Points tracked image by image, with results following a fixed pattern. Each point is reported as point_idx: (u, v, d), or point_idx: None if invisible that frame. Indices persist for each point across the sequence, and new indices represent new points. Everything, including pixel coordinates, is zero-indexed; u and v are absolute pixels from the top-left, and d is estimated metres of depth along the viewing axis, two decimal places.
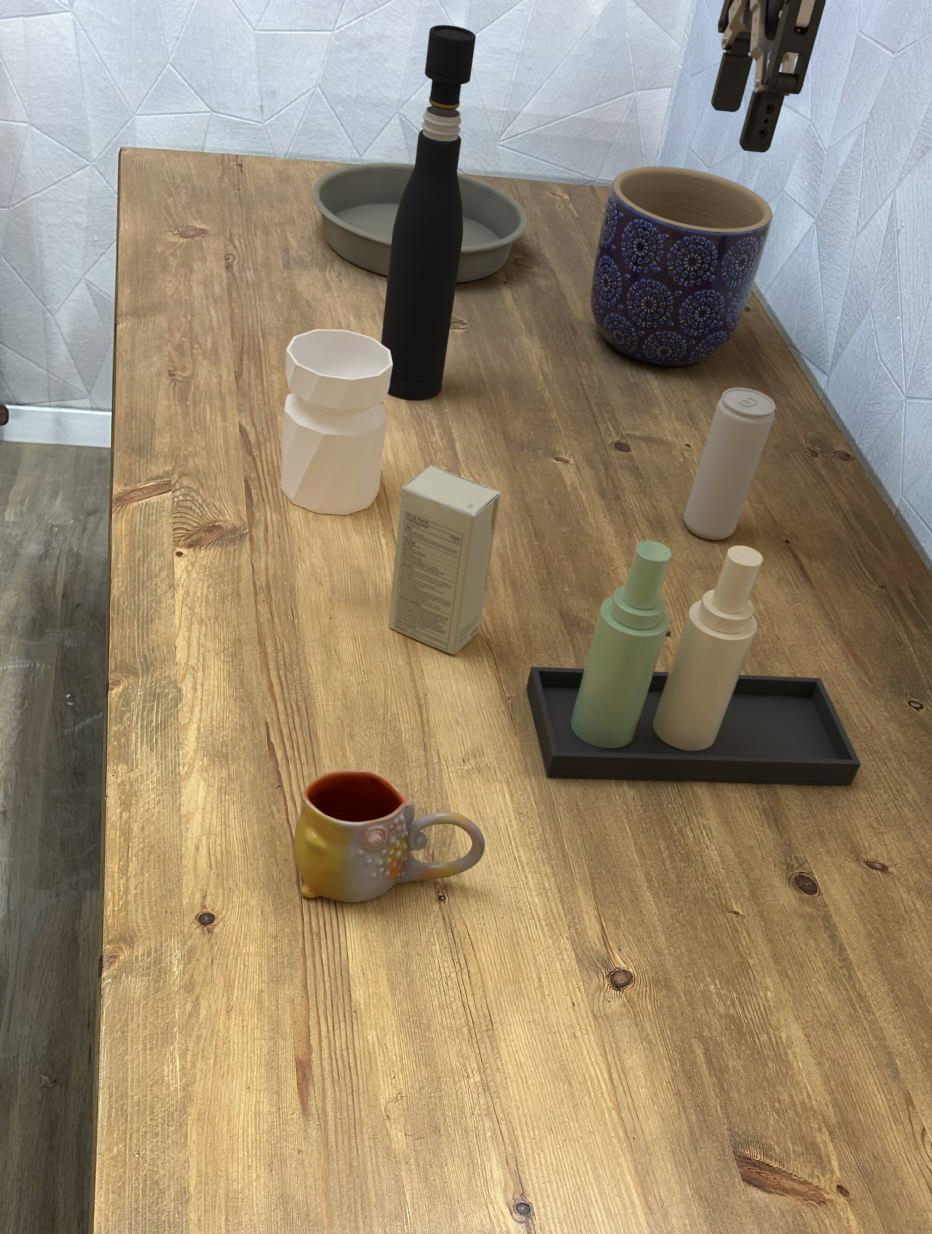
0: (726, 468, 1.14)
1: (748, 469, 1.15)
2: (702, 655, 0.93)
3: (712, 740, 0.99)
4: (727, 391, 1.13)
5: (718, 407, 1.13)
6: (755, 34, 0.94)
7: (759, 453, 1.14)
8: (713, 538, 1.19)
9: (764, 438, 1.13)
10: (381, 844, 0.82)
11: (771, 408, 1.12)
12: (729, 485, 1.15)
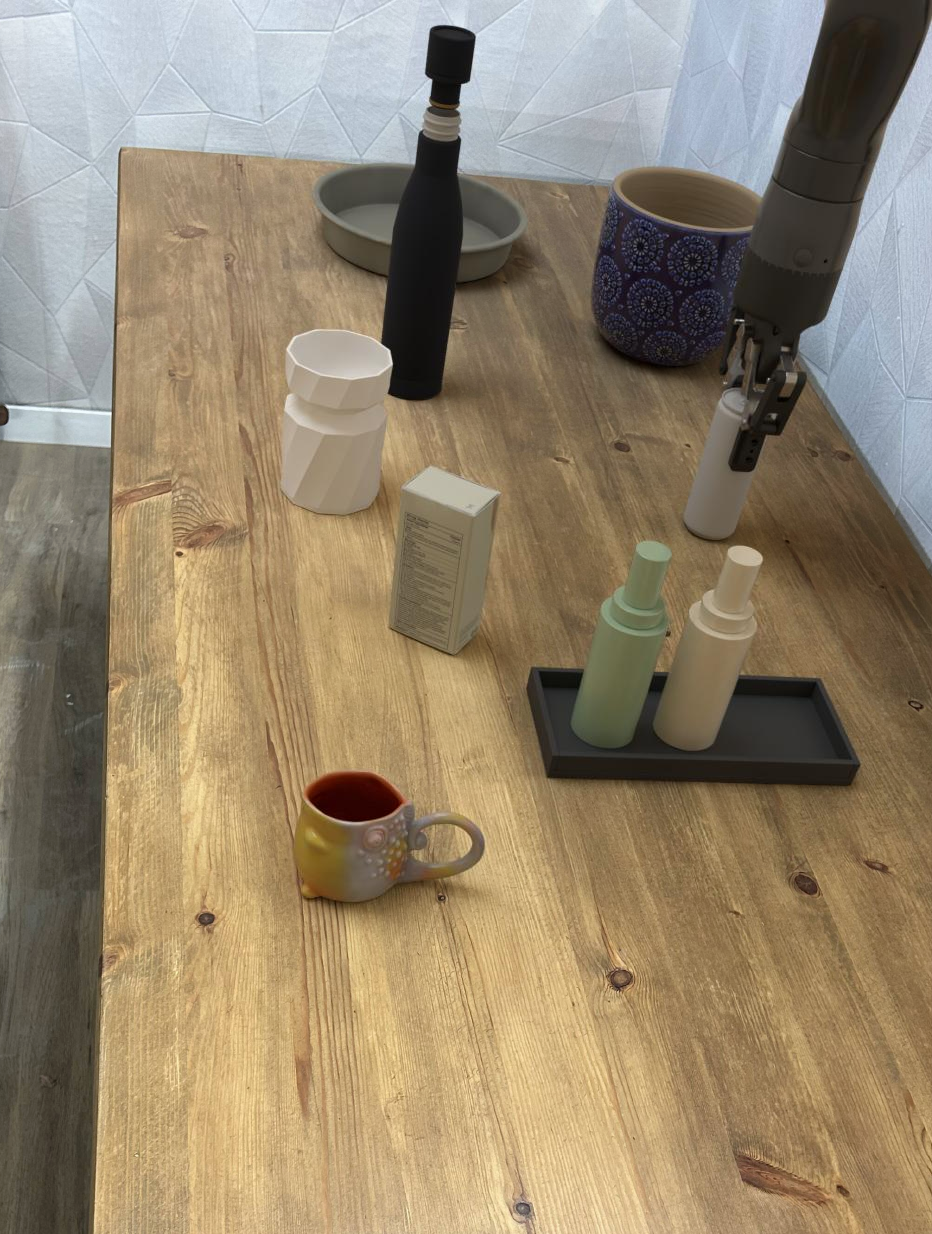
0: (726, 468, 1.14)
1: None
2: (702, 655, 0.93)
3: (712, 740, 0.99)
4: (727, 391, 1.13)
5: (718, 407, 1.13)
6: (746, 383, 1.09)
7: None
8: (713, 538, 1.19)
9: None
10: (381, 844, 0.82)
11: None
12: (729, 485, 1.15)
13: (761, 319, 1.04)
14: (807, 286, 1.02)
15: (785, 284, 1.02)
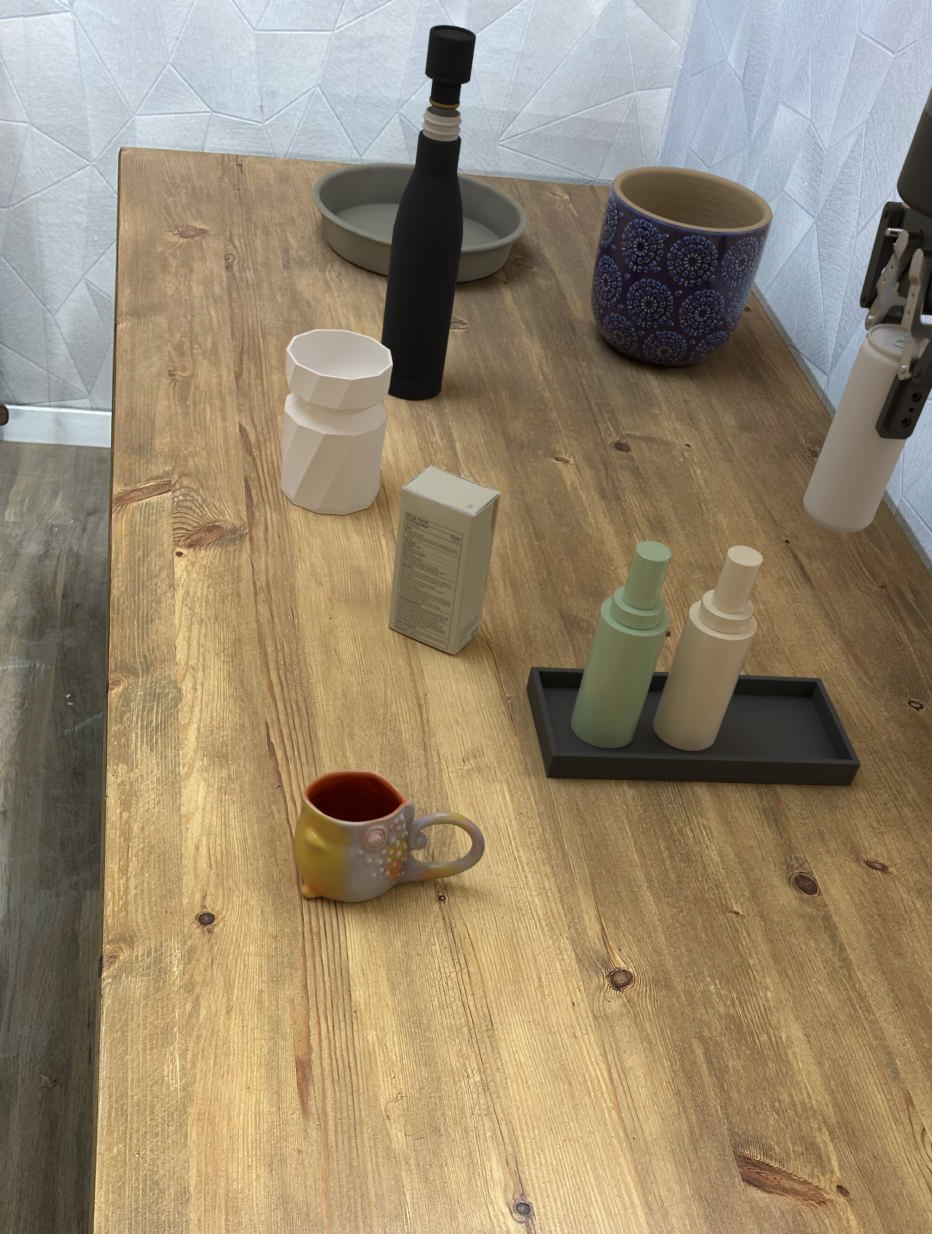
0: (871, 434, 0.84)
1: None
2: (702, 655, 0.93)
3: (712, 740, 0.99)
4: (874, 328, 0.82)
5: (862, 349, 0.82)
6: (909, 314, 0.78)
7: None
8: (845, 530, 0.89)
9: None
10: (381, 844, 0.82)
11: None
12: (872, 457, 0.85)
13: None
14: None
15: None
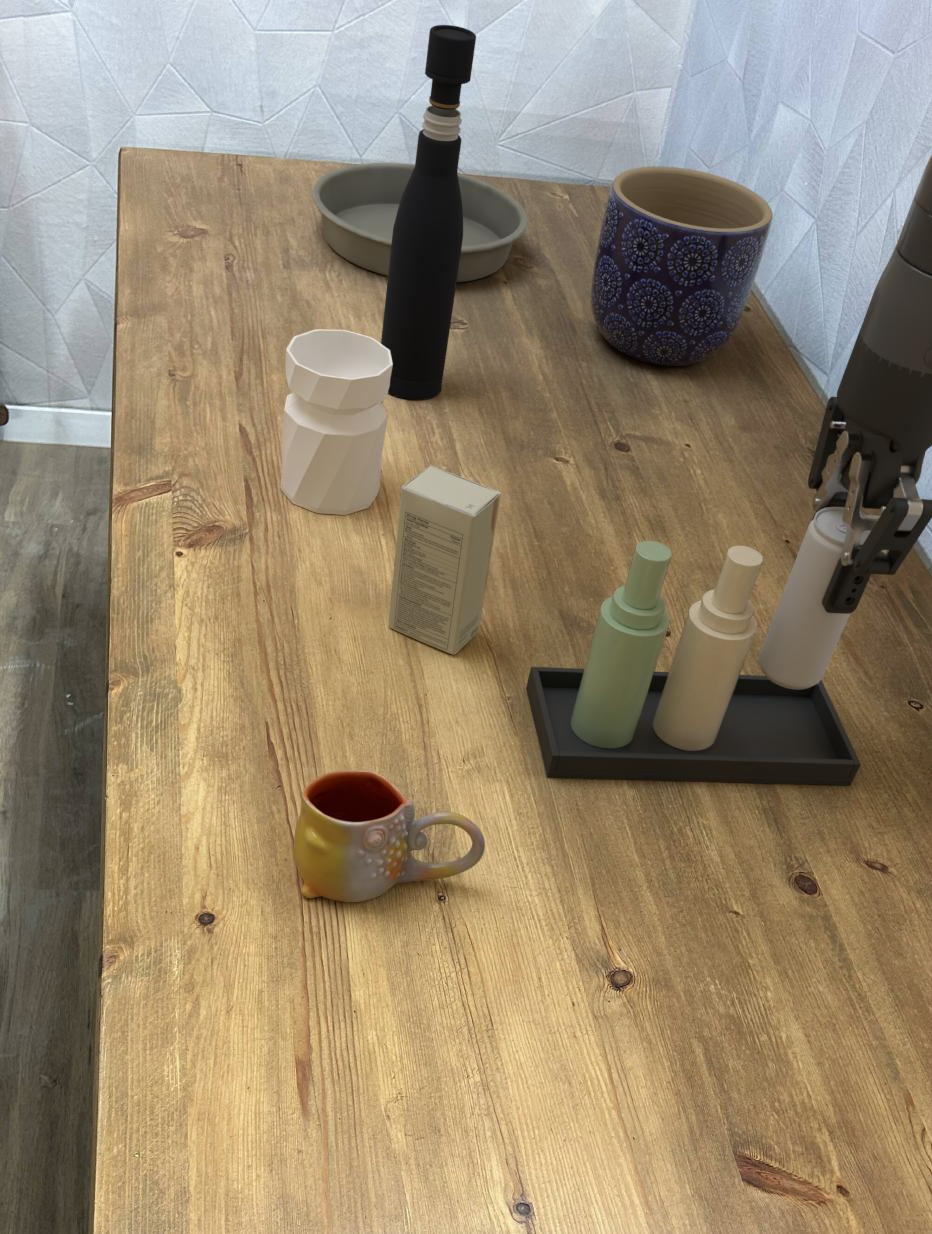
0: (818, 608, 0.90)
1: None
2: (702, 655, 0.93)
3: (712, 740, 0.99)
4: (820, 512, 0.89)
5: (809, 533, 0.89)
6: (850, 509, 0.85)
7: None
8: (796, 688, 0.95)
9: None
10: (381, 844, 0.82)
11: None
12: (820, 627, 0.91)
13: (876, 432, 0.80)
14: None
15: (911, 389, 0.78)
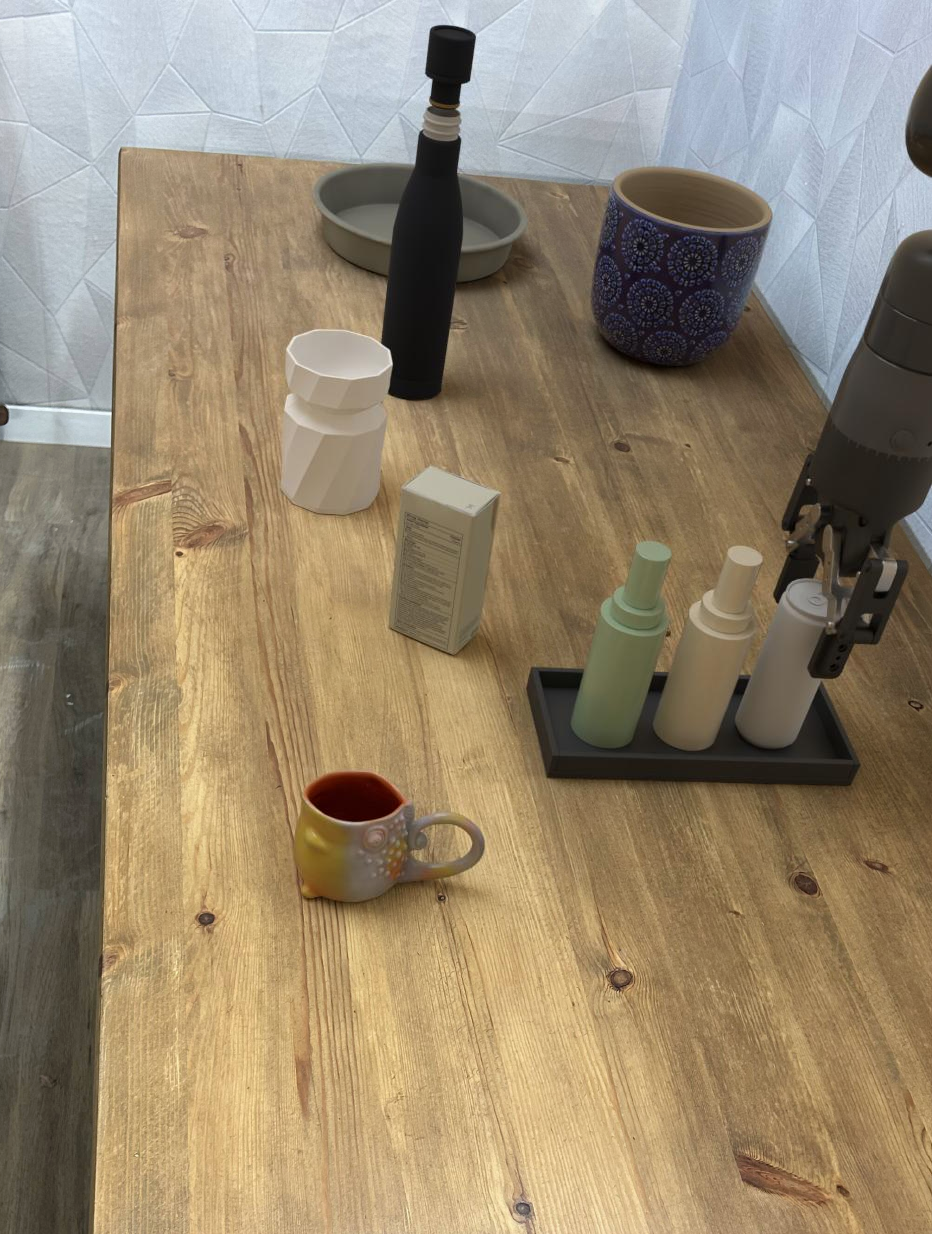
0: (790, 675, 0.94)
1: None
2: (702, 655, 0.93)
3: (712, 740, 0.99)
4: (792, 584, 0.93)
5: (781, 604, 0.93)
6: (828, 578, 0.87)
7: None
8: (771, 748, 1.00)
9: None
10: (381, 844, 0.82)
11: (846, 606, 0.92)
12: (793, 692, 0.95)
13: (845, 508, 0.84)
14: (906, 472, 0.81)
15: (878, 469, 0.81)
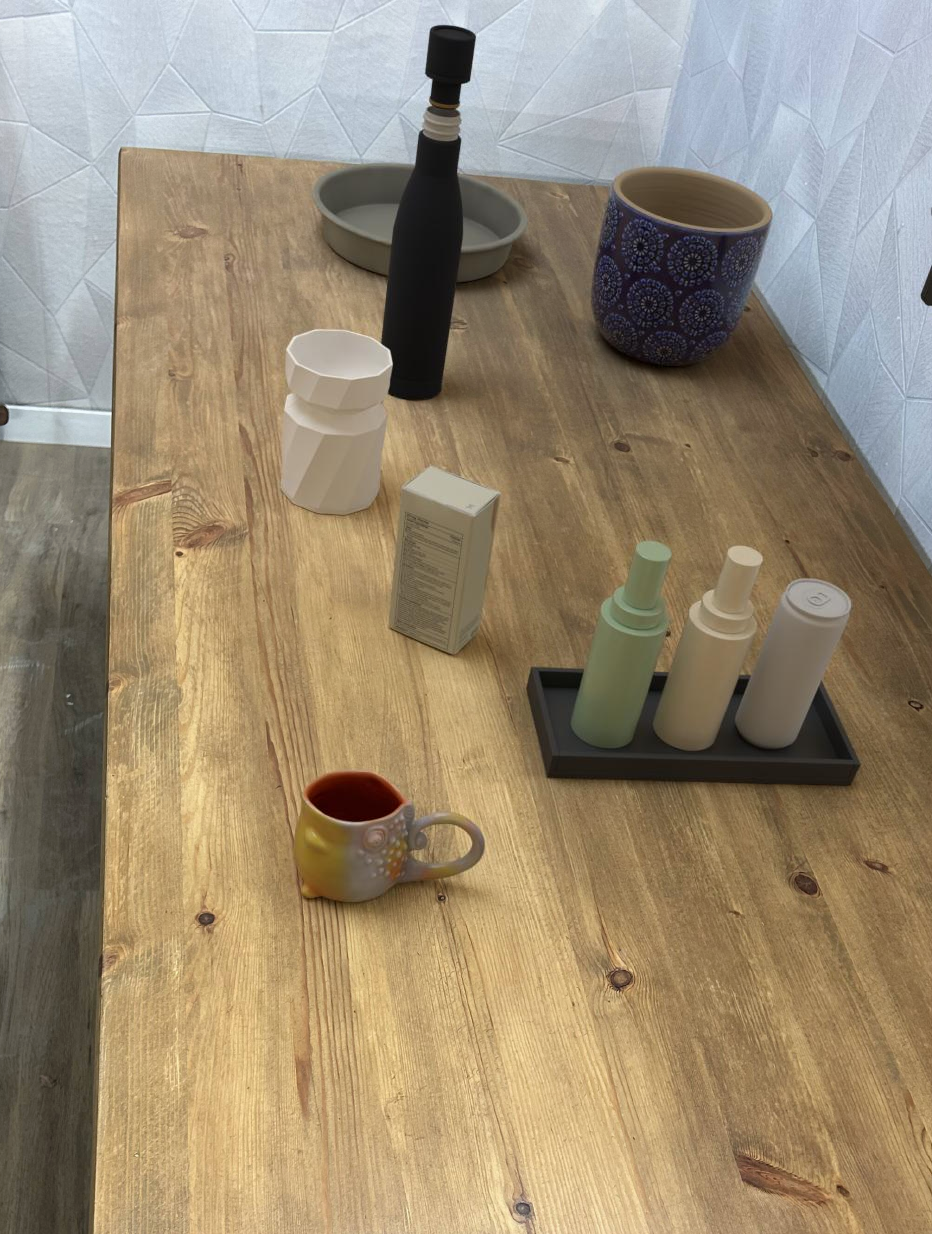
0: (790, 675, 0.94)
1: (817, 674, 0.95)
2: (702, 655, 0.93)
3: (712, 740, 0.99)
4: (792, 584, 0.93)
5: (781, 604, 0.93)
6: None
7: (830, 657, 0.94)
8: (771, 748, 1.00)
9: (837, 641, 0.93)
10: (381, 844, 0.82)
11: (846, 606, 0.92)
12: (793, 692, 0.95)
13: None
14: None
15: None
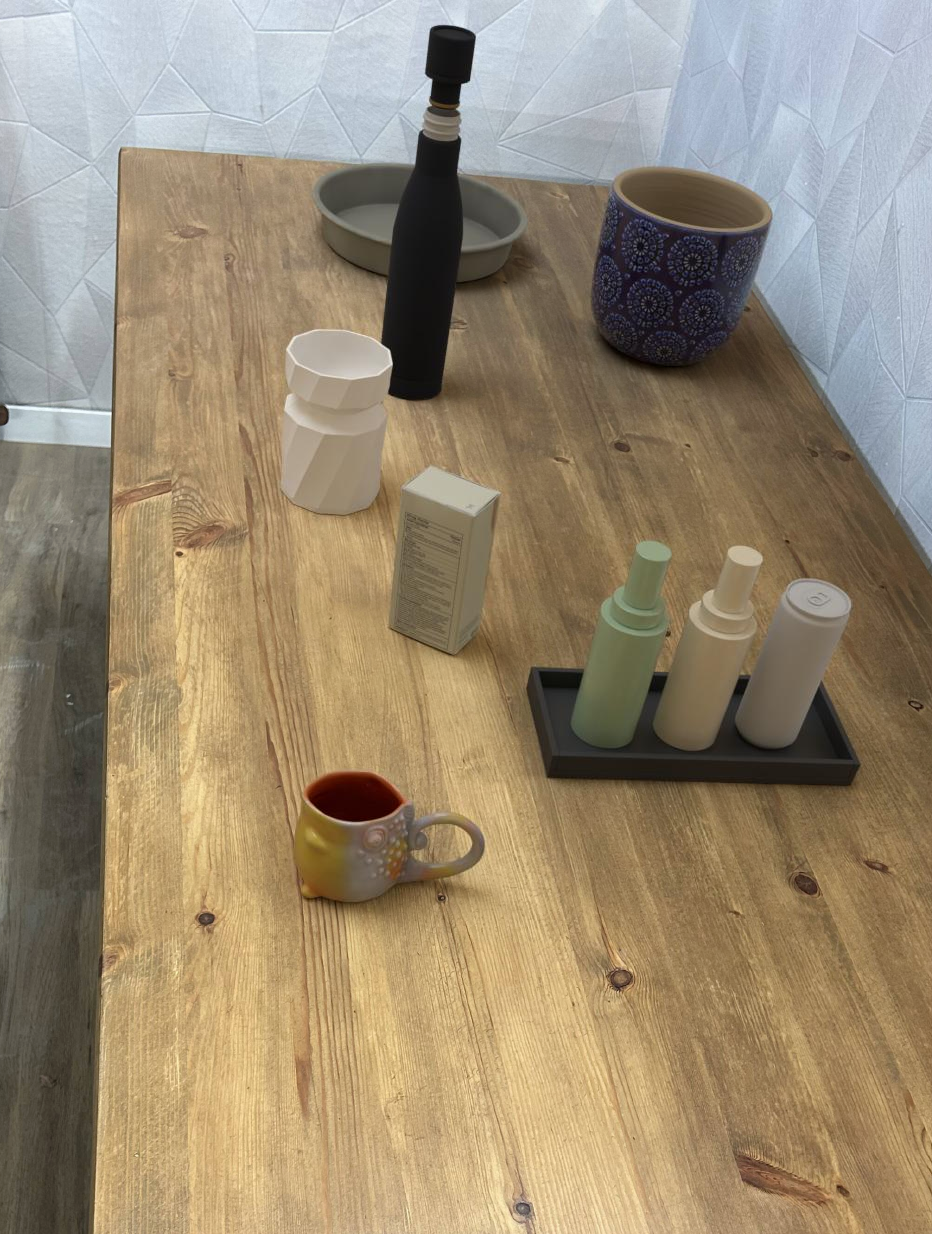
0: (790, 675, 0.94)
1: (817, 674, 0.95)
2: (702, 655, 0.93)
3: (712, 740, 0.99)
4: (792, 584, 0.93)
5: (781, 604, 0.93)
6: None
7: (830, 657, 0.94)
8: (771, 748, 1.00)
9: (837, 641, 0.93)
10: (381, 844, 0.82)
11: (846, 606, 0.92)
12: (793, 692, 0.95)
13: None
14: None
15: None
